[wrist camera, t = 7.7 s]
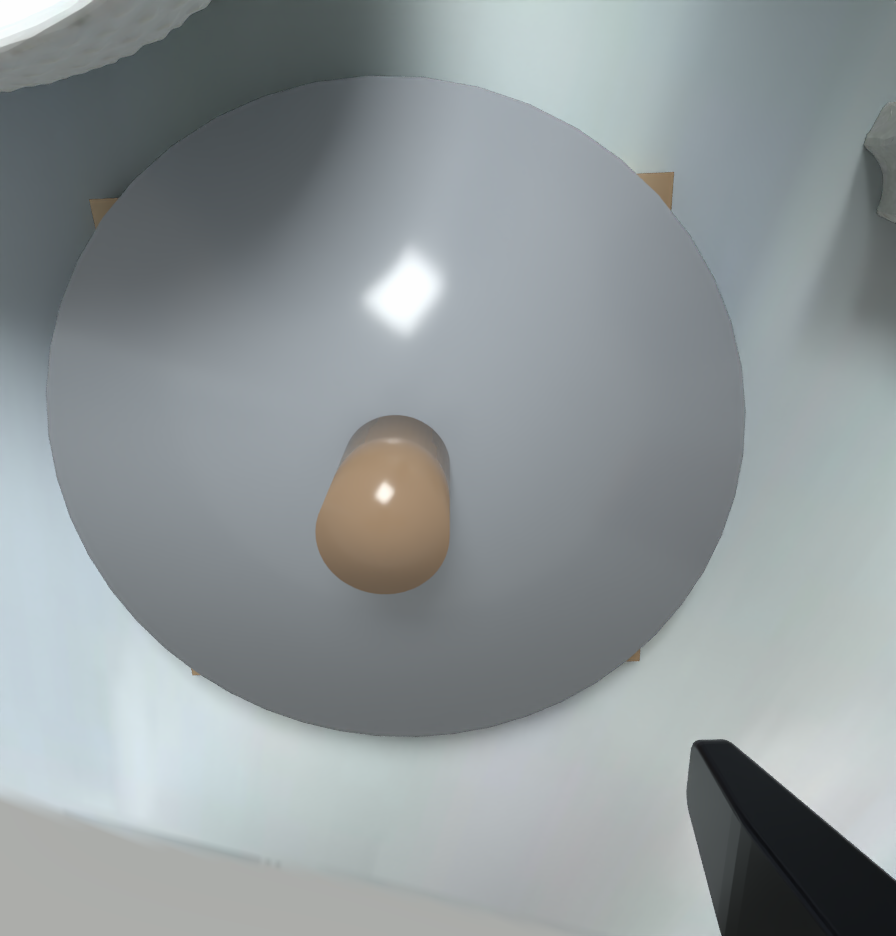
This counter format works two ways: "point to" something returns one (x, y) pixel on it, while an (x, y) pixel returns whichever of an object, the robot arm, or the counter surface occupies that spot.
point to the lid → (395, 406)
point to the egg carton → (885, 157)
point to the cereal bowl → (79, 35)
